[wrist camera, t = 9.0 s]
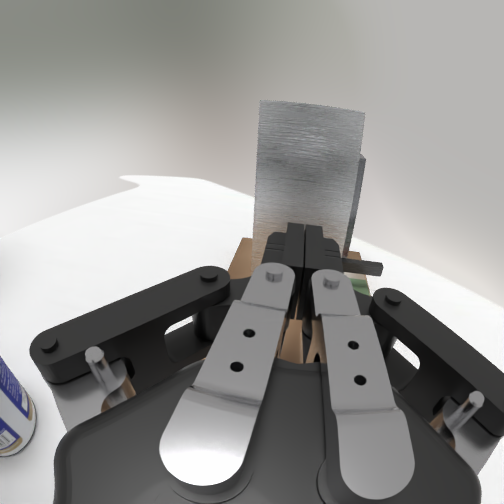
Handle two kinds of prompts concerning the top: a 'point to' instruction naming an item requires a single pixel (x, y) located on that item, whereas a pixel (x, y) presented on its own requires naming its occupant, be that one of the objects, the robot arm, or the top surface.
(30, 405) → the pill bottle
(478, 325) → the top surface
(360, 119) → the brushed steel sheet
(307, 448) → the robot arm
